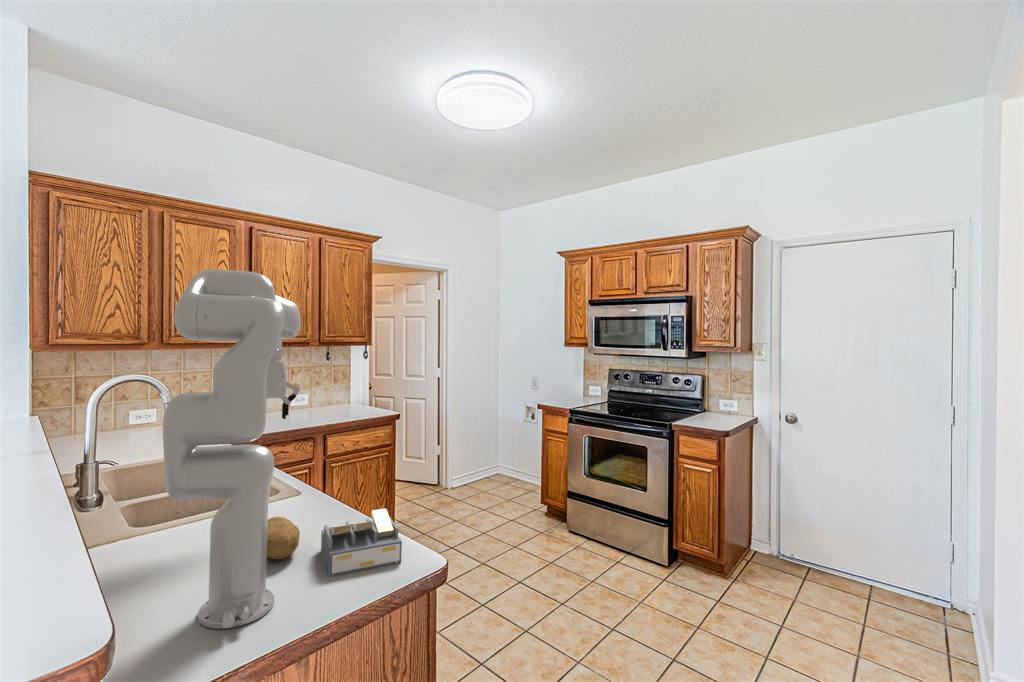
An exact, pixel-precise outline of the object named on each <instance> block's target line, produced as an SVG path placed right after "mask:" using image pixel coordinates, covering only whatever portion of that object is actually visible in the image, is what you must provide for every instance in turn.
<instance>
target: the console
mask: <svg viewBox="0 0 1024 682" xmlns="http://www.w3.org/2000/svg"><path fill="white" fill-rule="evenodd" d="M389 518H390V521H391V524H392V527H393V529H394V532H393V535H390V536H384V537H377V530H376V529H375V526H374V523H373V528H368V529H362V530H352V528H351V531H349V532H343V533H337V534H330V531H329V526H328V525H327V524H324V525H323V529H322V530H321V543H320V545H321V546H320V551H322V552H321V555H322V554H323V555H322V557H324V558H323V561H324V564H325V568H326V570H328V571H327V574H328V573H329V574H328V577H333V576H339V574H340V575H344V574H348V573H349V572H350V573H353V572H354V571H355V572H359V570H360V571H364V570H363V569H365V570H369V569H368V568H370V569H374V568H373V567H375V568H378V567H377V566H380V567H384V566H383V565H385V566H388V565H387V564H390V565H393V564H392V563H395V564H397V563H396V562H400V563H402V552H403V551H402V550H403V549H402V546H403V544H402V543H403V541H402V539H401V538H400V537H399V527H398V525H397V524H396V523H395V521H393V519H392V518H391V516H390V515H389ZM369 521H371V520H370V518H366V521H365V522H369ZM350 524H351V523H350V522H349V521H345V525H350ZM381 565H382V566H381ZM355 572H354V573H355Z"/></svg>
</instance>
